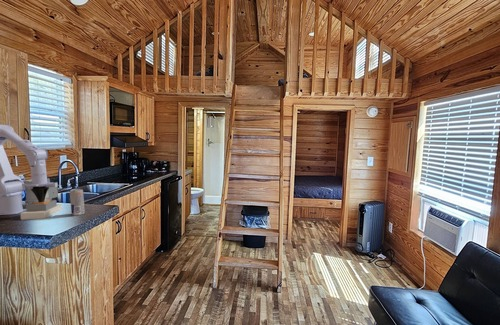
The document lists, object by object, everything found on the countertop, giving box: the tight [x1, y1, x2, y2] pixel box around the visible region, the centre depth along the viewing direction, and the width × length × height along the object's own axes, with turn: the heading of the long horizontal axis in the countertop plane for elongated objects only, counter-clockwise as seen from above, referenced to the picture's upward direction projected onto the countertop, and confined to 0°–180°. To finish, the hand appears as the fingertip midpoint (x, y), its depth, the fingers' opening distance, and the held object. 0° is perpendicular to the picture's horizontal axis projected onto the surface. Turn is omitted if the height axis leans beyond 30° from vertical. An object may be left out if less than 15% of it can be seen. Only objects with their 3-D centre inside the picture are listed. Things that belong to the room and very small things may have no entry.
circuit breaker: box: [22, 177, 59, 207], centre depth 143 cm, size 8×14×15 cm, turn 174°
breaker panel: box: [19, 199, 63, 221], centre depth 127 cm, size 10×14×6 cm
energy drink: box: [69, 188, 86, 217], centre depth 127 cm, size 5×5×12 cm
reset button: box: [32, 200, 51, 204], centre depth 127 cm, size 5×5×2 cm
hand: (41, 202), depth 127 cm, fingers closed, pressing on reset button
